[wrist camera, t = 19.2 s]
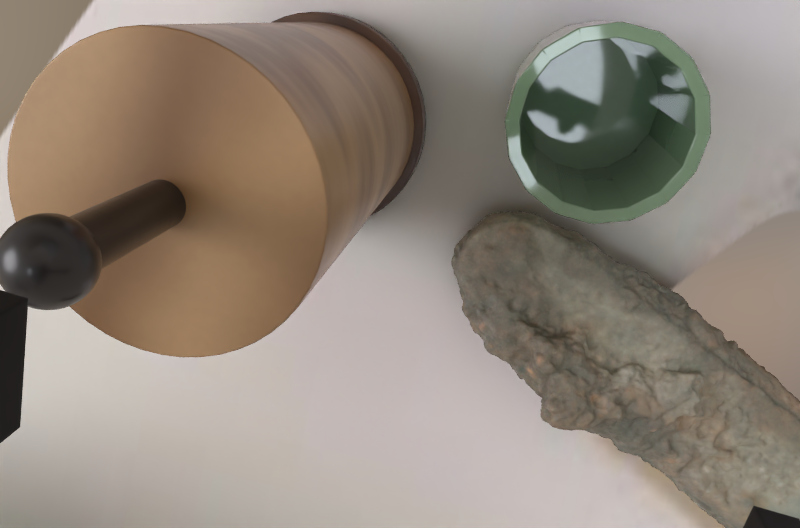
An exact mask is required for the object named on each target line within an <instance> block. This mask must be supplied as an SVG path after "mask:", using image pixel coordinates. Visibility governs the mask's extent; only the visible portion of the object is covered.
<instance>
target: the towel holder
mask: <svg viewBox="0 0 800 528" xmlns="http://www.w3.org/2000/svg"><path fill="white" fill-rule="evenodd" d="M425 128H426V118H425V107H424V102H423V97H422V93H421V90H420V87H419V84H418V81H417V79H416V77H415V75H414V73H413V70H412V68H411V67H410V65H409V64H408V62H407V61H406V59H405V58H404V56H403V55H402V54H401V52H400V51H399V50H398V49H397V48H396V47H395V45H394V44H393V43H391V42H390V41H389V40H388V39H387V38H386V37H385V36H384V35H382V34H381V33H380V32H378V31H377V30H375V29H374V28H372V27H371V26H369V25H367V24H365V23H363V22H361V21H359V20H356V19H353V18H351V17H348V16H344V15H339V14H334V13H323V12H308V13H298V14H294V15H289V16H285V17H283V18H280V19H278V20H275V21H273V22H271V23H225V24H172V25H137V26H126V27H119V28H114V29H110V30H106V31H102V32H99V33H97V34H94V35H92V36H89V37H87V38H85V39H82V40H80V41H78V42H77V43H75V44H74V45H72V46H70V47H69V48H67V49H66V50H64V51H63V52H61V53H60V54H59V55H58V56H57V57H56V58H54V59H53V60H52V61H51V62H50V63H49V64H48V65H47V66H46V67H45V68H44V69H43V71H42V72H41V73H40V74H39V75H38V76H37V78H36V79H35V80H34V81H33V83H32V85H31V86H30V88H29V90H28V91H27V93H26V95H25V96H24V98H23V100H22V103H21V105H20V107H19V110H18V112H17V114H16V117H15V120H14V124H13V128H12V132H11V136H10V142H9V150H8V185H9V193H10V200H11V204H12V208H13V212H14V216H15V220H16V223H14V224H13V225H12V226H11V227H9V228H8V229H7V231H6V232H5V233H4V234H3V235H2V237H1V238H0V284H1V286H2V287H3V289H4V290H5V291H6V292H8V293H12V294H15V295H19V296H22V297H26V298H28V307H31V308H35V309H41V310H56V309H61V308H65V307H68V306H70V307H71V308H72V309H73V310H74V311H75V312H76V313H78V314H79V315H80V316H81V317H83V318H84V319H85V320H86V321H87V322H89V323H90V324H92V325H93V326H95V327H96V328H98V329H99V330H101V331H103V332H104V333H106V334H108V335H110V336H111V337H113V338H115V339H117V340H119V341H121V342H123V343H126V344H128V345H131V346H134V347H136V348H139V349H142V350H145V351H149V352H153V353H157V354H161V355H169V356H176V357H205V356H213V355H220V354H224V353H227V352H231V351H235V350H238V349H241V348H243V347H245V346H248V345H250V344H252V343H255V342H257V341H258V340H260V339H262V338H263V337H265V336H266V335H268V334H270V333H271V332H273V331H274V330H275V329H276V328H277V327H279V326H280V325H281V324H282V323H283V322H285V321H286V320H287V319H288V318H289V316H290V315H291V314H292V313H293V312H294V311H295V310H296V309H297V307H298V306H299V305H300V304H301V303H302V301H303V300H304V299H305V298H306V296H307V295H308V294H309V293H310V291H311V290H312V289H313V287H314V286H315V285H316V284H317V282H318V281H319V280H320V279H321V277H322V276H323V275H324V274H325V272H326V271H327V270H328V269H329V267H330V266H331V265H332V263H333V262H334V261H335V260H336V258H337V257H338V256H339V255H340V253H341V252H342V251H343V250H344V248H345V247H346V246H347V244H348V243H349V242H350V241H351V239H352V238H353V237H354V236H355V234H356V233H357V232H358V231H359V229H360V228H361V227H362V226H363V224H364V223H365V222H366V220H367V219H368V218H369V217H370V216H371V215H373V214H375V213H376V212H378V211H379V210H381V209H383V208H384V207H385V206H386V205H387V204H389V203H390V202H391V201H392V200H393V199H394V198H395V197H396V196H397V195H398V194H399V193H400V191H401V190H402V189H403V188H404V186H405V185H406V183H407V182H408V180H409V179H410V177H411V176H412V174H413V172H414V170H415V168H416V166H417V164H418V162H419V159H420V156H421V153H422V149H423V144H424V139H425Z"/></svg>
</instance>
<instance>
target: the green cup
mask: <svg viewBox="0 0 800 528" xmlns="http://www.w3.org/2000/svg"><path fill="white" fill-rule="evenodd" d="M505 128H506V138H507V148H508V157H509V160H510V162H511V163H512V165H513V167H514V169H515V171H516V173H517V174H518V176H519V178H520V180H521V182H522V184H523V185H524V187H525V189H526V190H527V191H528V192H529V193H530V194H531V195H533V196H534V197H535V198H536V199H538V200H539V201H540V202H542V203H543V204H544V205H545V206H547V207H548V208H549V209H550V210H552V211H553V212H554V213H557V214H559V215H562V216H566V217H569V218H573V219H576V220H580V221H583V222H587V223H592V224H598V223H609V222H620V221H630V220H633V219H635V218H637V217H639V216H641V215H643V214H645V213H647V212H649V211H651V210H653V209H655V208H657V207H660V206H662V205H664V204H666V203H667V202H668V201H669V200H670V199H671V198H672V197H673V196H674V195H675V194H676V193H677V192H678V191H679V190H680V189H681V188H682V187H683V186H684V185H685V184H686V182H687V181H688V180H689V179H690V178H691V177H692V176H693V175H694V174H695V173H694V172H696V170H697V168H698V165H699V163H700V161H701V158H702V156H703V153H704V151H705V148H706V146H707V143H708V141H709V138H710V134H711V114H710V95H709V91H708V89H707V87H706V85H705V83H704V81H703V78H702V76H701V74H700V72H699V70H698V68H697V66H696V64H695V62H694V60H693V59H692V57H691V56H690V55H689V54H687V53H686V52H685V51H684V50H682V49H681V48H680V47H679V46H678V45H676V44H675V43H674V42H673V41H672V40H670V39H669V38H668V37H667V36H665V35H664V34H663V33H661V32H659V31H655V30H652V29H648V28H644V27H640V26H637V25H633V24H629V23H625V22H618V21H593V22H586V23H579V24H573V25H568V26H565V27H563V28H562V29H560V30H558V31H556V32H554V33H552V34H551V35H549V36H548V37H546V38H545V39H543V40H541V41H540V42H539V43H537V45H536V46H535V47H534V49H533V50H532V51H531V52H530V53H529V54H528V56H527V57H526V58H525V60H524V61H523V63H522V64H521V65H520V66H519V68H518V71H517V74H516V78H515V81H514V84H513V88H512V91H511V94H510V98H509V103H508V107H507V112H506V117H505Z"/></svg>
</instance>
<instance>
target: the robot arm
mask: <svg viewBox="0 0 800 528" xmlns="http://www.w3.org/2000/svg"><path fill="white" fill-rule="evenodd" d="M27 309H28V298H26V297H22V296H19V295H15V294H12V293H8V292H5V291H1V290H0V443H1V442H2V441H3V440H5V439H6V438H7V437H8V436H10V435H11V434H12V433H13V432H14V431H16V430H17V429H18V428H19V427H20V419H21V404H22V388H23V372H24V356H25V341H26V325H27ZM743 528H800V520H799V519H798V518H795V517H791V516H788V515H784V514H781V513H777V512H774V511H771V510H767V509H764V508H760V507H757V506H753V508H752V510H751V512H750V514H749V516H748V518H747V520H746V522H745V524H744V526H743Z"/></svg>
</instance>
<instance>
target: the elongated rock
mask: <svg viewBox="0 0 800 528" xmlns="http://www.w3.org/2000/svg"><path fill="white" fill-rule="evenodd" d="M452 267H453V269H454V274H455V276H456V278H457V281H458V284H459V287H460V294H461V297H462V300H463V306H462V310H463V312H464V314H465V316H466V317H467V318H468V319H469V320H470V325H471V327H472V329H473V331H474V332H475V333H477V334H478V335H480V337H481V338H482V339H483V340H484V346H485V348H486V350H487V351H488V352H489V353H490V354H492V355H495V356H497V357H499V358H500V359H502V360H504V361H506V362H507V363H509V364H510V365H511V367H512V369H514V370H515V372H516V373H517V375H518V376H519V378H520V379H524V380H525V382H526V384H528V385H529V386H530V387H531V388H532V389H533V390H534V391H535V392H536V394H537V395H539V396H540V397H541V398H542V400H541V403H542V405H541V406H542V407H541V408H542V409H541V418H542V419H543V420H544V421H545V422H547V423H549V424H550V425H551V426H552V427H554V428H558V429H563V430H585V431H588V432H590V433H596V434H599V435H600V436H601V437H604V438H609V439H611V440H612V441H613V443H614V445H615V446H616V447H617V448H618V450H620V451H622V452H625V453H629V454H632V455H637V456H639V457H641V458H642V460H643V461H645V462H649V463H650V464H651V466H652V467H655V468H656V469H659V470H660V471H661V472H663V473H664V474H665V475H666V476H667V477H669V478H670V479H671V480H672V481H673V482H674V483H675V485H676V486H677V488H678V490H679V491H684V492H685V493H686V494H687V495H688V496H689V497H690V498H691V500H692V501H693V502H695V503H696V504H697V505H698V506H699V507H700V508H701V509H702V510H704V511H706V512H707V514H709V515H710V516H712V517H713V518H714V519H716V520H717V521H718V522H719V523H720V524H723V525H724V526H725V528H743V526H744V524H745V522H746V520H747V518H748V516H749V514H750V512H751V510H752V508H753V506H757V507H760V508H764V509H767V510H771V511H774V512H777V513H781V514H784V515H788V516H791V517H795V518H798V519H799V520H800V401H799V400H798V399H797V398H796V397H794V396H793V394H791V393H790V392H788V391H787V390H786V389H785V388H784V387H783V386H782V384H781V383H780V382H779V380H778V379H777V378H776V377H775V376H773V375H772V374H771V373H769V372H767V371H766V370H765V368H764V367H763V366H759V365H758V364H757V363H756V362H755V361H754V360H753V359H752V358H751V357H750V356H749V355H748V354H746V353H745V351H744V350H743V349H741V348H738V344H737V343H736V342H735V341H726V340H725V338H724V336H723V332H722V331H721V330H719V329H717V328H715V327H713V326H711V325H710V324H708V323H707V322H706V321H705V320H704V319H703V318H702V316H701V315H700V314H699V313H698V312H697V311H696V310H693V309H691V308H690V307H689V306H688V303H687V302H686V301H685V299H684V298H683V297H682V296H680V295H679V294H678V293H675V292H673V291H671V289H669V288H667V287H665V286H663V285H661V286H659V285H658V283H657V282H656V281H655V280H654V279H652V278H651V277H649V275H648V274H647V273H646V272H643V271H639V270H637V269H634V268H633V267H630V266H629V265H626V264H620V263H618V262H615V261H614V260H613V259H612V258H611V257H610V256H607V255H606V254H605V253H603V252H602V251H601V250H600V249H599V248H598V246H597V245H596V244H594V243H593V242H590V241H588V240H586V239H585V238H584V237H583V236H582V235H581V234H580V233H578V232H577V231H568V230H566V229H564V228H562V227H557V226H555V225H553V224H551V223H549V222H547V221H546V220H544V219H543V218H542V217H540V216H539V215H537V214H534V213H523V212H522V211H518V212H510V211H506V212H499V213H493V214H490V215H487V216H486V217H485V218H484V219H482V220H481V221H480V222H479V223H478V224H477V225H476V226H475V227H474V228H473V229H472V230H470V231H468V233H467V234H466V235H465V236H464V237H463V238H462V239H461V240H460V241H459V243H458V244H457V245H456V247H455V250H454V256H453V258H452Z"/></svg>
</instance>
